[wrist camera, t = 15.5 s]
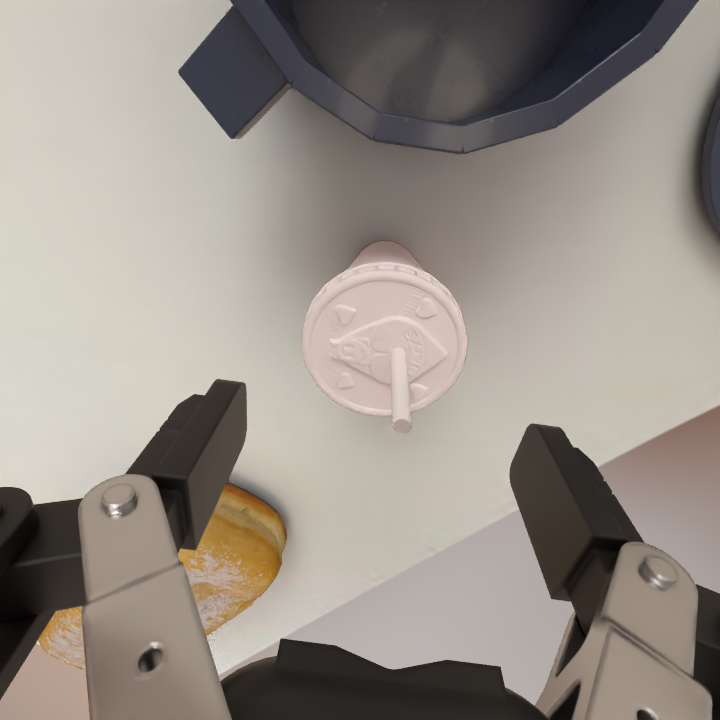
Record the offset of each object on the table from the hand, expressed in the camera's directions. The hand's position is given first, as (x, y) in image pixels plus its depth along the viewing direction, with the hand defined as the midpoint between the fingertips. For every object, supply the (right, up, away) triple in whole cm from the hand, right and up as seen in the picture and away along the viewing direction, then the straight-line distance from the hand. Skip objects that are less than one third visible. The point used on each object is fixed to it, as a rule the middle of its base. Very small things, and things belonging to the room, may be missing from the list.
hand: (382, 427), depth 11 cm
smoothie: (+1, +7, +12) cm, 14 cm away
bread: (-18, -16, +27) cm, 36 cm away
